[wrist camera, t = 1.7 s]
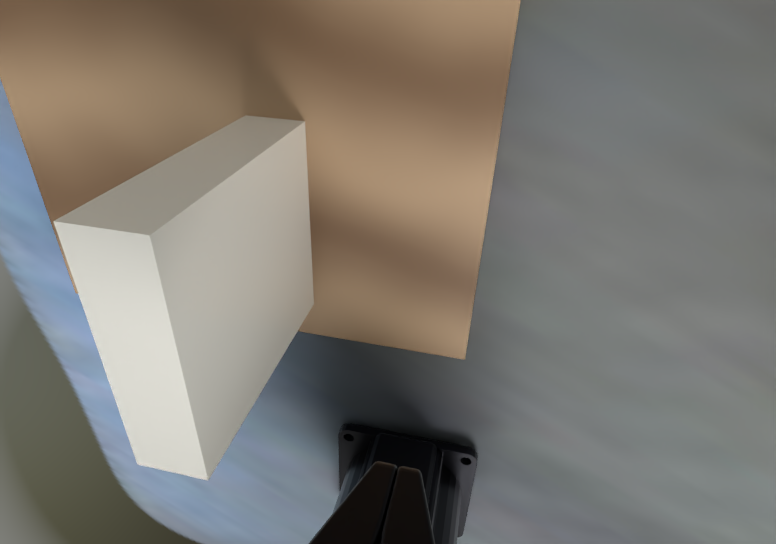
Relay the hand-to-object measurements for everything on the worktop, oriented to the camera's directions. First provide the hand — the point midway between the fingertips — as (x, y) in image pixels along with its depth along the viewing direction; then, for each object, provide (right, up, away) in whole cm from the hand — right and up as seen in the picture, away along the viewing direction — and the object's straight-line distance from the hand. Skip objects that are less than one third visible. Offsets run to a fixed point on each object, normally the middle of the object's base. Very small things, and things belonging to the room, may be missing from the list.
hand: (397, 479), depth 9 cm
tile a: (-4, +6, +9) cm, 11 cm away
